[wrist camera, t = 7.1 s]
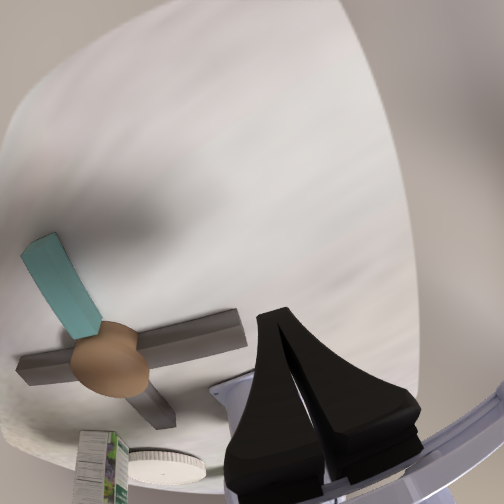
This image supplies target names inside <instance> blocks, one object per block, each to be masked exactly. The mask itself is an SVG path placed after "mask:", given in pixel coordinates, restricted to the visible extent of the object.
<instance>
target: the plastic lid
mask: <svg viewBox="0 0 504 504" xmlns="http://www.w3.org/2000/svg"><path fill="white" fill-rule="evenodd" d="M205 476H206V468H205V464H204V463H203V462H202V461H201V460H199V459H197V458H195V457H192V456H188V455H182V454H178V453H173V452H172V453H170V452H161V451H159V452H157V451H143V452H141V451H139V452H133V453H130V454H129V455H128V477H130V478H132V479H135V480H138V481H141V482H147V483H151V484H160V485H179V484H180V485H182V484H188V483H193V482H196V481H198V480H201V479H203V478H204V477H205Z"/></svg>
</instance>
